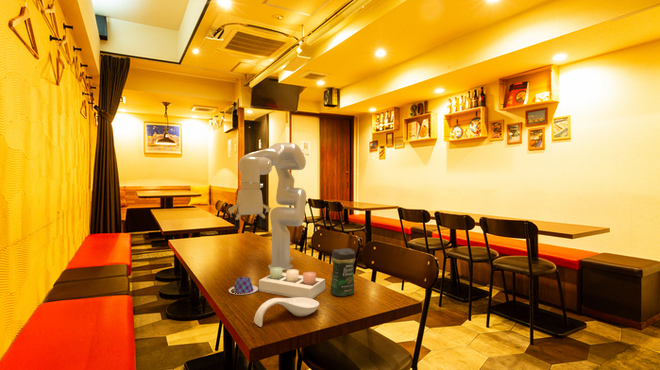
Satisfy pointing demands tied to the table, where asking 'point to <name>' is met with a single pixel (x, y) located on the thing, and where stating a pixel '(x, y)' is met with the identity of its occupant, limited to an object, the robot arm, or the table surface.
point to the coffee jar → (343, 272)
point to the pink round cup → (309, 278)
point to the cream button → (292, 275)
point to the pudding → (243, 286)
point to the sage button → (276, 273)
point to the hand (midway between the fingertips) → (249, 228)
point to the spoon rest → (288, 307)
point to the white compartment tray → (291, 287)
